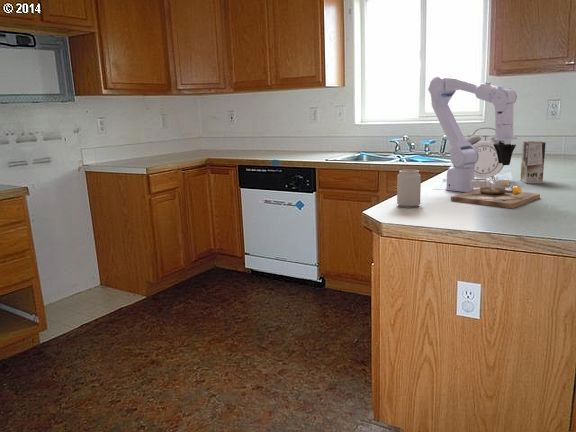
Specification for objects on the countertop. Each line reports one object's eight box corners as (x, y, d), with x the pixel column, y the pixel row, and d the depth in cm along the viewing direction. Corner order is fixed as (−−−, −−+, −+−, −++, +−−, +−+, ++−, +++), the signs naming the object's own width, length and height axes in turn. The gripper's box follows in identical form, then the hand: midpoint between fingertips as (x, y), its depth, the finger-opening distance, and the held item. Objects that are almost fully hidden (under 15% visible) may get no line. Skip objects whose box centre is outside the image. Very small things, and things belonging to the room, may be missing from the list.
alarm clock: (461, 181, 206) (463, 128, 201) (465, 178, 213) (467, 127, 208) (503, 182, 198) (506, 127, 193) (505, 179, 205) (508, 126, 200)
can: (421, 204, 164) (421, 168, 161) (419, 208, 157) (420, 171, 154) (398, 203, 166) (398, 168, 164) (395, 208, 159) (396, 171, 157)
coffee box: (543, 183, 192) (546, 142, 188) (525, 183, 193) (528, 142, 190) (536, 180, 201) (539, 140, 197) (519, 180, 202) (522, 140, 198)
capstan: (474, 197, 162) (475, 184, 161) (469, 189, 176) (469, 178, 175) (522, 197, 159) (522, 184, 158) (512, 189, 173) (513, 177, 172)
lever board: (450, 200, 167) (451, 195, 166) (480, 191, 180) (480, 187, 180) (512, 208, 152) (512, 203, 151) (539, 198, 165) (540, 193, 165)
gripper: (521, 124, 160) (520, 165, 162) (512, 123, 173) (512, 161, 176) (498, 125, 162) (498, 166, 164) (491, 125, 175) (491, 162, 178)
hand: (504, 164), depth 170 cm, fingers open, 7 cm apart
